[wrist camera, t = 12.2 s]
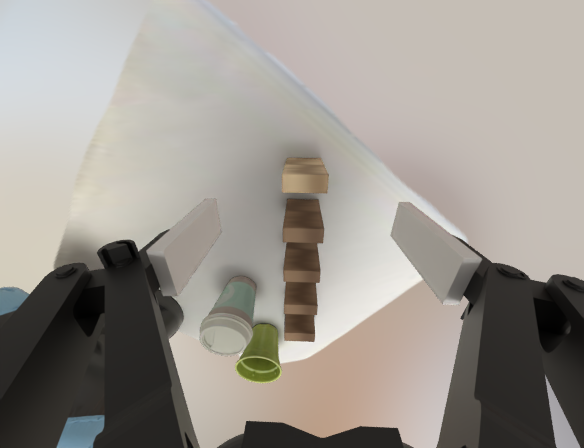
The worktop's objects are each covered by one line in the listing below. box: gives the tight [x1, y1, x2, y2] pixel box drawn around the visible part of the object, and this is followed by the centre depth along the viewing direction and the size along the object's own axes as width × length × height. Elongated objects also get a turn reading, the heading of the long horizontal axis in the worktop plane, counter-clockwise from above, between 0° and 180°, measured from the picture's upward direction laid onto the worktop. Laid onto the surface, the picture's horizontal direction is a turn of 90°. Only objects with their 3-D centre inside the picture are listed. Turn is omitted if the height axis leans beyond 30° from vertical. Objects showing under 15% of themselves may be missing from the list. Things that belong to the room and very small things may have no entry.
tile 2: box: [283, 199, 324, 243], centre depth 30 cm, size 5×2×10 cm, turn 90°
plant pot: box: [235, 324, 282, 383], centre depth 46 cm, size 9×9×9 cm
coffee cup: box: [199, 276, 256, 356], centre depth 38 cm, size 8×8×12 cm
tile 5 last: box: [284, 314, 315, 342], centre depth 39 cm, size 5×2×10 cm, turn 90°
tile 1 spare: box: [282, 158, 329, 193], centre depth 27 cm, size 5×2×10 cm, turn 90°
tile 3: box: [283, 242, 320, 283], centre depth 33 cm, size 5×2×10 cm, turn 90°
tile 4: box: [284, 282, 318, 315], centre depth 36 cm, size 5×2×10 cm, turn 90°
